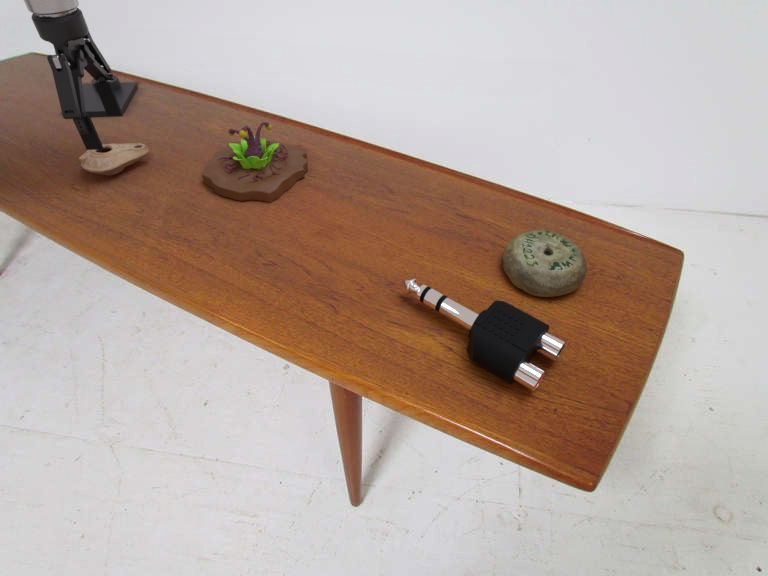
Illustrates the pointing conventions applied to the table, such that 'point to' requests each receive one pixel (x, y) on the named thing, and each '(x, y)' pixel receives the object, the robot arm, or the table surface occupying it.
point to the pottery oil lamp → (112, 157)
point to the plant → (255, 167)
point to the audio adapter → (497, 335)
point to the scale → (94, 103)
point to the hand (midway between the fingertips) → (105, 130)
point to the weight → (544, 263)
